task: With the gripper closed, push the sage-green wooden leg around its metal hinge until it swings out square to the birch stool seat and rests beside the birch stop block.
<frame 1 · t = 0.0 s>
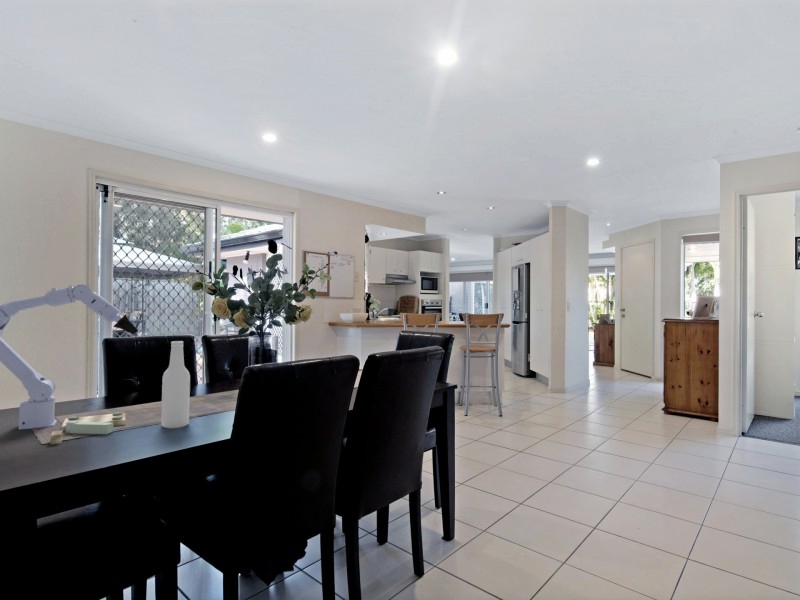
hand: (135, 332, 168), 32 cm above the table, fingers open, 7 cm apart
alcohol: (175, 426, 154), on the table
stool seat: (95, 424, 154), on the table
hinged leg: (88, 427, 144), point 2 cm above the table, hinge at -35.0°
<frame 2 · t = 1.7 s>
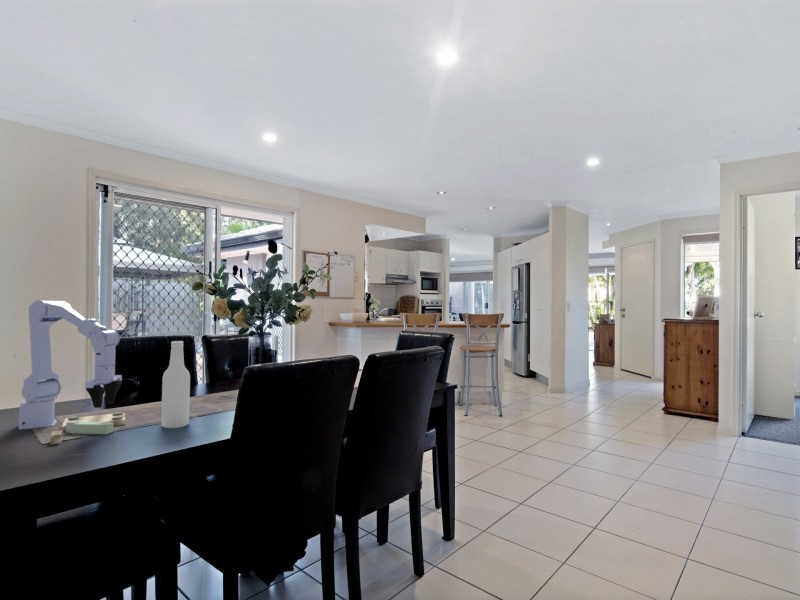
hand: (103, 405, 147), 8 cm above the table, fingers open, 5 cm apart
nothing on the table moved.
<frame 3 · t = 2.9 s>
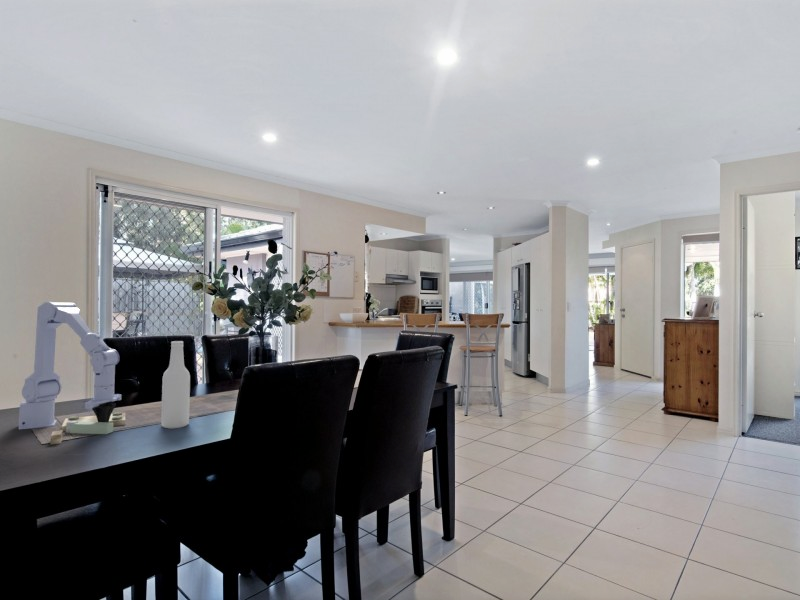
hand: (103, 425, 147), 2 cm above the table, fingers closed
nothing on the table moved.
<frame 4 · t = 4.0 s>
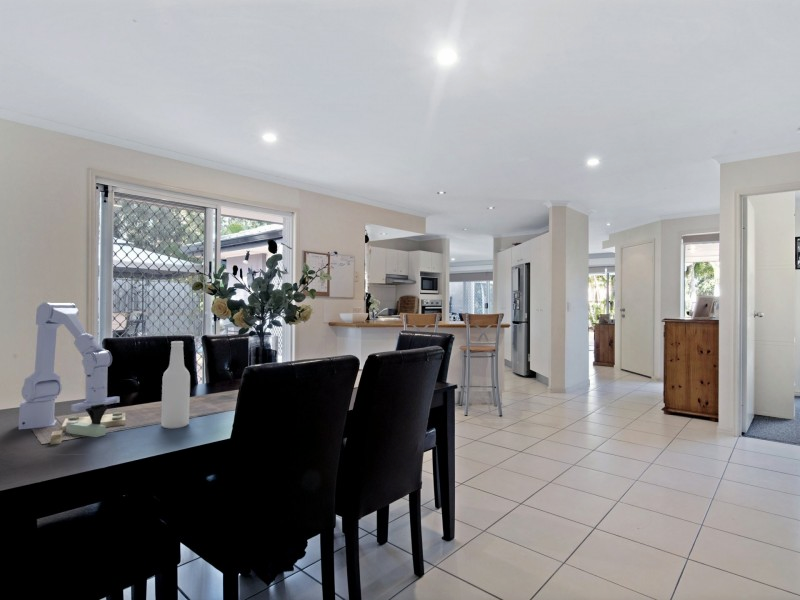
hand: (95, 428, 143), 2 cm above the table, fingers closed, pressing on hinged leg
hinged leg: (84, 428, 142), point 2 cm above the table, hinge at -50.4°, touching gripper
everything else where it was.
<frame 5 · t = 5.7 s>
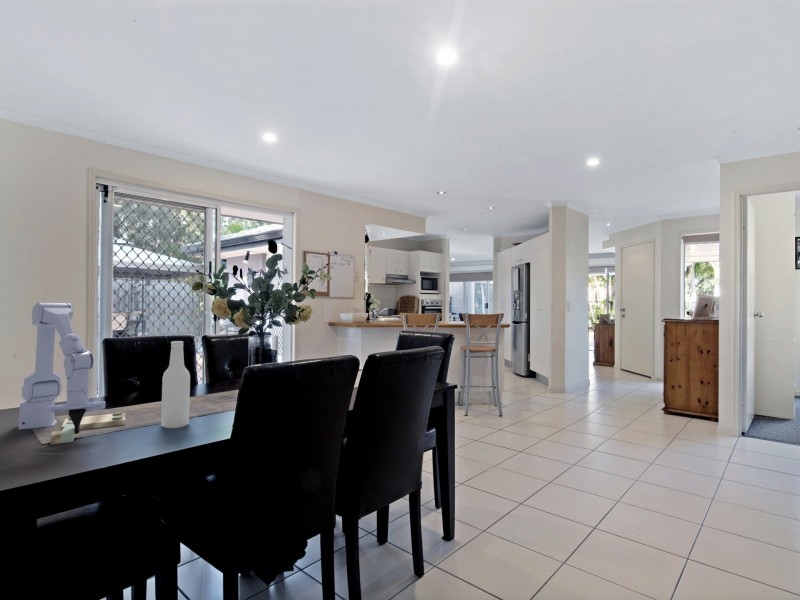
hand: (76, 433, 138), 2 cm above the table, fingers closed, pressing on hinged leg
hinged leg: (69, 431, 139), point 2 cm above the table, hinge at -91.4°, touching gripper, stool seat
everything else where it was.
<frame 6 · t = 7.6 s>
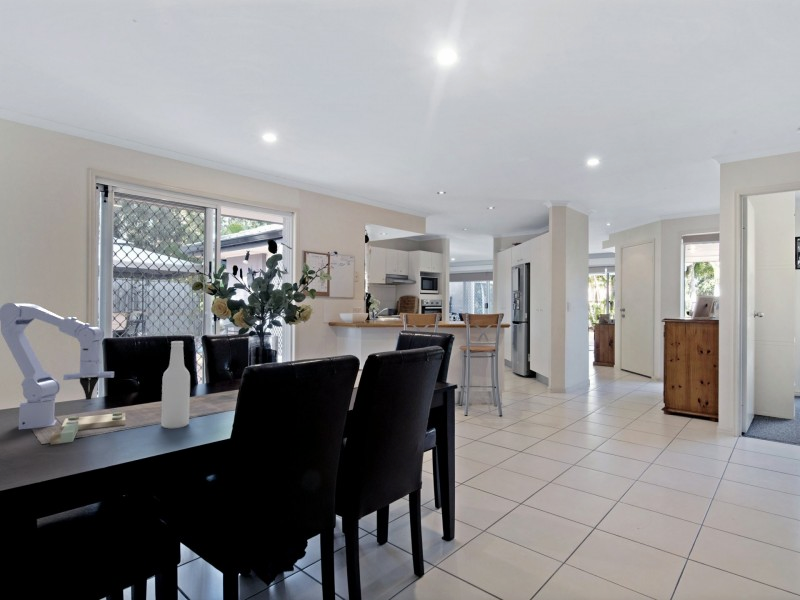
hand: (88, 399, 154), 9 cm above the table, fingers closed
hinged leg: (69, 431, 139), point 2 cm above the table, hinge at -91.4°, touching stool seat
everything else where it was.
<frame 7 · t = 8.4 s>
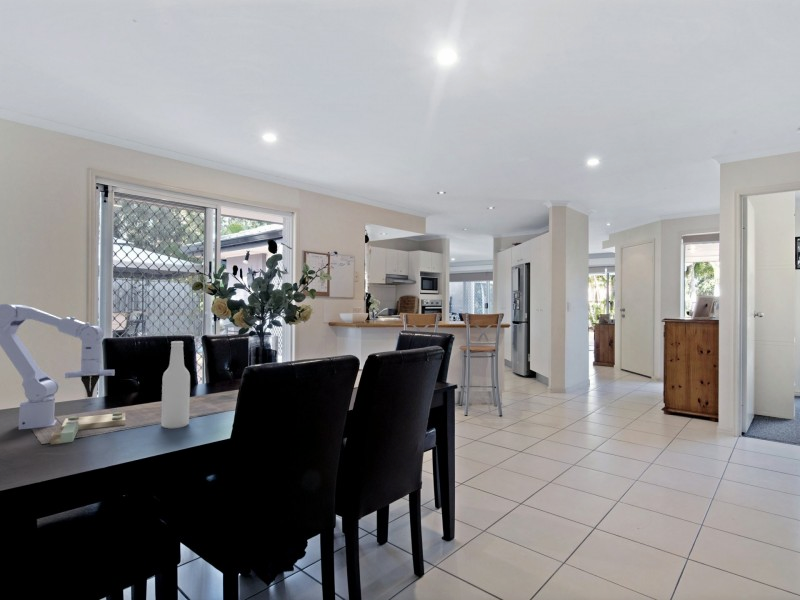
hand: (89, 396, 156), 9 cm above the table, fingers closed
nothing on the table moved.
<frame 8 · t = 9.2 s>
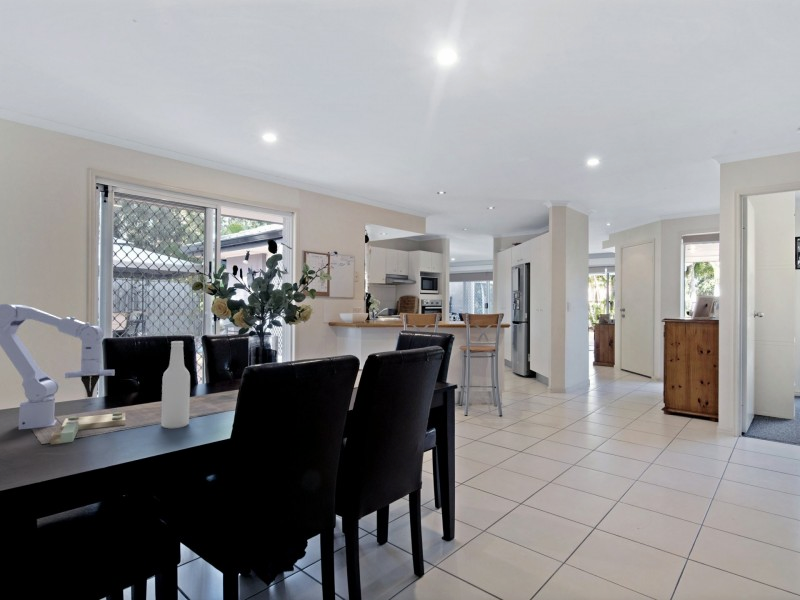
hand: (89, 396, 156), 9 cm above the table, fingers closed
nothing on the table moved.
at the end: hinged leg at -91° (first picture: -35°) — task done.
